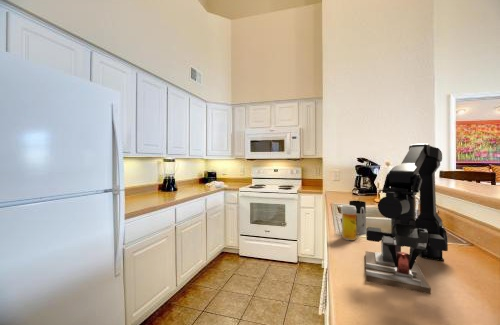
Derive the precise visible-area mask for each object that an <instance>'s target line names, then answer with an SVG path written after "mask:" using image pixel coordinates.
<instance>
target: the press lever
mask: <svg viewBox="0 0 500 325" xmlns="http://www.w3.org/2000/svg"><path fill="white" fill-rule="evenodd" d="M394 274H395V276H401V277H406V278H411V279H413V275H412V273H411V271H410V270H409V253H408V252H405V251H401V252H397V268H395V267H394Z"/></svg>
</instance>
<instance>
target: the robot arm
mask: <svg viewBox="0 0 500 325" xmlns="http://www.w3.org/2000/svg"><path fill="white" fill-rule="evenodd" d="M442 161H443V152H442V151H441V149H440V148H439V147H435V146H431V145H430V144H429V143H413V144H409V146H408V151H407V152H406V155H405V156H404V158H403V159H402V161H401V163H400V164H399V165H396V166H393V167H392V168H391V169H390V170H389V171H388V173H387V174H386V176H385V178H384V179H385V180H384V183H383V187H382V190H381V192H382V194H385V196H384V197H382V198H380V199H379V201H378V203H377V210H378V212H379V213H380V215H382V216H383V217H384V218H387V219H390V220H391V221H390V232H387V231H382V229H381V227H372V226H368V227H366V234H365V236H366V238H365V239H366V241H369V242H375V243H376V242H377V243H379V242H381V240H382V243H383V245H385V246H387V247H388V248H389V250H390V252H391V255H392V258H393V261H394V264H395V267H397V257H396V250H395V244H394V240H396V244H397V245H398V246H401V248H402V247H407V248H409V253H408V254H409V269H410V270H411V269H412V267H413V265H414V263H415V261H416V260H417V258H418V257H419V256H420V257H421V258H423V259H428V260H437V261H440V262H441V261H442V262H444V261H445V258H444V257H443V252H448V250H449V248H448V247H449V245H448V243H449V240H448V232H447V230H446V229H445V228H446V227H445V226H444V225H443V220H442V218H441V217H440V216H439V215H438V213H437V200H436V199H437V198H436V197H437V196H436V195H437V194H436V175H435V174H436V172H437V170H438V169H439V168H440V167H441V162H442ZM417 193H419V205H420V206H419V208H420V209H419V210H420V213H419V214H418V216H417V217H416V195H417ZM416 262H417V261H416Z"/></svg>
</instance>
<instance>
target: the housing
mask: <svg viewBox="0 0 500 325" xmlns="http://www.w3.org/2000/svg"><path fill="white" fill-rule="evenodd" d="M380 242H381V243H380V246H381V249H380V253H381V255H382V259H383V261H385V262H391V263H394V261H393V258H392V255H391V252H390V250H389V248H388V247H387V246H385V245H383V243H382V240H381V241H380ZM394 244H395V250H396V257H397V252H402V247H401V246H398V245H397V244H396V240H394Z"/></svg>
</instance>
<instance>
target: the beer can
mask: <svg viewBox="0 0 500 325" xmlns="http://www.w3.org/2000/svg"><path fill="white" fill-rule="evenodd" d="M341 237H342V239H343V240H345V241H349V240H354V241H356V239H357V234H356V207H355V206H353V205H349V204H343V205H342V207H341Z"/></svg>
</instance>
